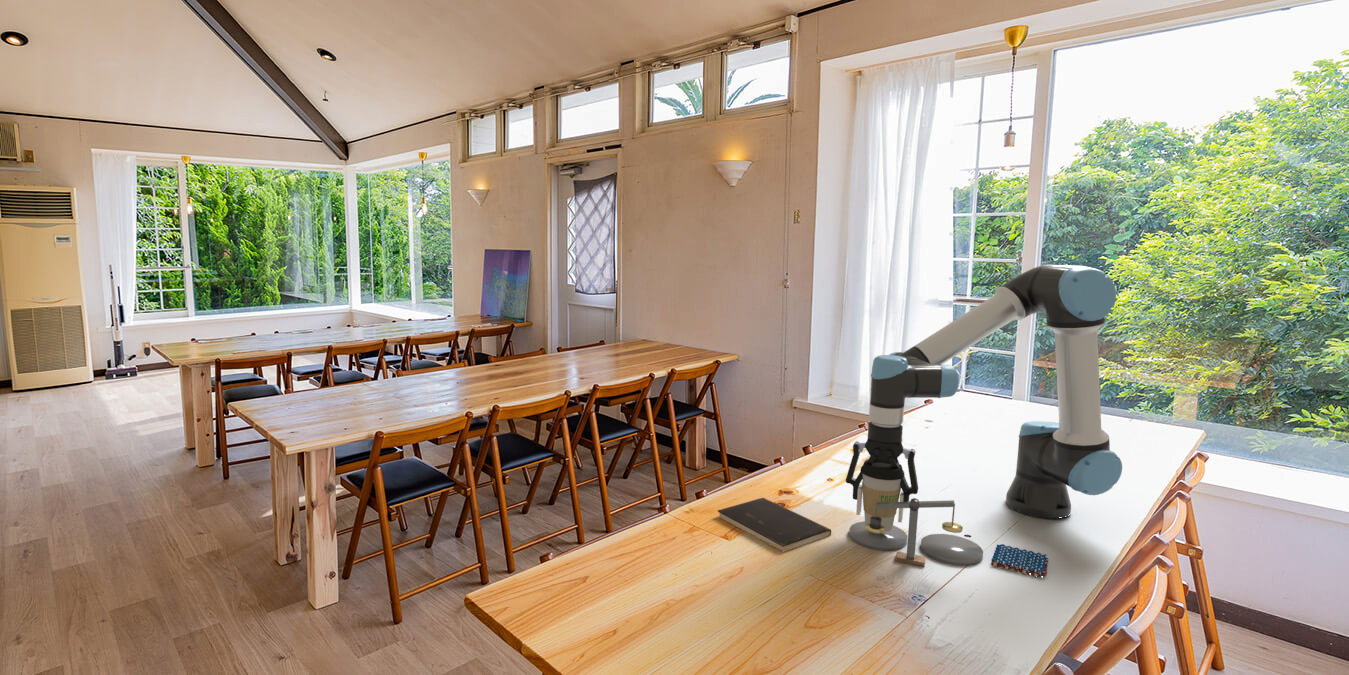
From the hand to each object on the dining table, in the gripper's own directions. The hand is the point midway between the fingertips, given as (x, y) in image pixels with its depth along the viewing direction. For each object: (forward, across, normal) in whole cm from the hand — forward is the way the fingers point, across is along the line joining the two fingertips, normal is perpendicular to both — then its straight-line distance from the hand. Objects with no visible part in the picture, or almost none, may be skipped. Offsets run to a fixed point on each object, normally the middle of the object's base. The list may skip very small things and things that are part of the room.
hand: (879, 516), depth 157 cm
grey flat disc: (+5, -16, 0) cm, 17 cm away
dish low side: (+5, 0, 0) cm, 5 cm away
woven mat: (+6, -30, -1) cm, 31 cm away
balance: (+5, -8, +9) cm, 13 cm away
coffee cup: (+3, 0, 0) cm, 3 cm away
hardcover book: (+6, +24, +5) cm, 25 cm away
